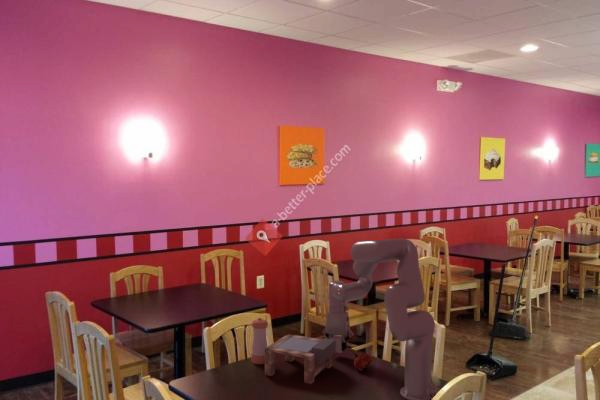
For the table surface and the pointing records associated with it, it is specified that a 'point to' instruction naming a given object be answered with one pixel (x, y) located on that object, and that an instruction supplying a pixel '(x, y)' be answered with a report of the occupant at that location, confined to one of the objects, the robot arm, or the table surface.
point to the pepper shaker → (259, 341)
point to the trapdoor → (311, 347)
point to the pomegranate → (362, 361)
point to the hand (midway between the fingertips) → (337, 349)
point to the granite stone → (338, 343)
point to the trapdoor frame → (309, 367)
